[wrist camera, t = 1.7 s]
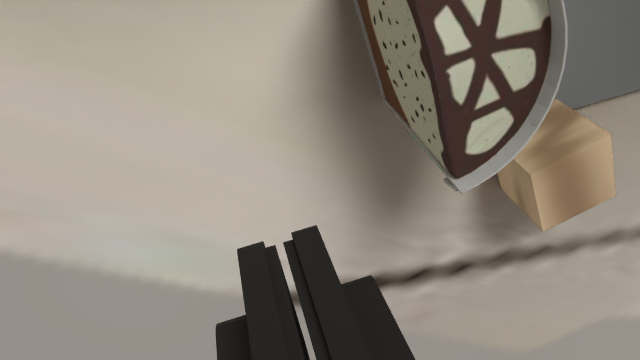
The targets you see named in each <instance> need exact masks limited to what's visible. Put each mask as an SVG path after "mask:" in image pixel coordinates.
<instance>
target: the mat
mask: <svg viewBox="0 0 640 360" xmlns="http://www.w3.org/2000/svg"><path fill="white" fill-rule="evenodd" d="M564 4H565V11H566V17H567V24H568V47H567V53H566V60H565V67H564V71H563V75H562V78H561V82H560V85H559V89H558V91H557V93H556V96H555V98H554V100H555V99H558V100H559V101H561V102H562V103H564V104H565V105H567V106H568V107H570V108H571V109H575V108H578V107H582V106H585V105H589V104H592V103H596V102H599V101H603V100H606V99H610V98H613V97H617V96H620V95H624V94H627V93H631V92H634V91H638V90H640V0H564Z"/></svg>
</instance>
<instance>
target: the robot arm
mask: <svg viewBox="0 0 640 360" xmlns="http://www.w3.org/2000/svg"><path fill="white" fill-rule="evenodd" d="M291 234H292V238H293V240H290V241H287V242H283V244H284V247H285V251H286V254H287V258H288V261H289V265H290V268H291V272H292V275H293V279H294V282H295V286H296V289H297V293H298V296H299V300H300V303H301V307H302V310H303V314H304V317H305V321H306V324H307V328H308V331H309V335H310V338H311V342H312V346H313V349H314V352H315V356H316V360H415V358H414V356H413V354H412V352H411V350H410V348H409V346H408V345H407V343H406V340H405V339H404V337H403V335H402V333H401V331H400V329H399V327H398V325H397V323H396V321H395V319H394V317H393V315H392V313H391V311H390V309H389V307H388V305H387V303H386V301H385V299H384V297H383V295H382V293H381V291H380V289H379V287H378V286H377V284H376V282H375V280H374V278H373V277H372V276H371V275H370V276H367V277H363V278H360V279H357V280H354V281H351V282H348V283H345V284H341V283H340V281H339V279H338V276H337V274H336V271H335V269H334V266H333V264H332V262H331V259H330V257H329V254H328V252H327V249H326V247H325V244H324V242H323V240H322V237H321V235H320V232H319V230H318V228H317V226H316V225H315V226H312V227H309V228H305V229H302V230H299V231H295V232H292V233H291ZM237 254H238V261H239V268H240V275H241V283H242V290H243V297H244V304H245V312H246V315H243V316H240V317H237V318H234V319H231V320H228V321H224V322H222V323H219V324H217V325H216V346H217V360H310V359H309V355H308V351H307V348H306V344H305V341H304V337H303V334H302V331H301V328H300V324H299V321H298V318H297V314H296V311H295V308H294V305H293V301H292V298H291V295H290V292H289V288H288V285H287V282H286V279H285V275H284V272H283V269H282V266H281V262H280V259H279V256H278V253H277V249H276V246H275V245H273V246H270V247H267V248H265V245H264V242H263V241H262V242H259V243H256V244H252V245H249V246H246V247H242V248H239V249H237Z"/></svg>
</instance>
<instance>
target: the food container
mask: <svg viewBox="0 0 640 360" xmlns="http://www.w3.org/2000/svg"><path fill="white" fill-rule="evenodd" d="M354 3H355V7H356V10H357V13H358V17H359V20H360V24H361V27H362V30H363V34H364V37H365V41H366V44H367V47H368V51H369V54H370V58H371V61H372V64H373V68H374V71H375V74H376V78H377V81H378V85H379V88H380V91H381V95H382V98H383V101H384V102H385V104H386V105H387V106H388V107H389V108H390V110H391V111H392V112H393V113H394V114H395V116H396V117H397V118H398V119H399V120H400V122H401V123H402V124H403V125H404V126H405V128H406V129H407V130H408V131H409V132H410V134H411V135H412V136H413V137H414V138H415V140H416V141H417V142H418V143H419V144H420V145H421V147H422V148H423V149H424V150H425V151H426V153H427V154H428V155H429V156H430V157H431V159H432V160H433V161H434V162H435V163H436V165H437V166H438V167H439V168H440V169H441V171H442V172H443V173H444V174H445V175H446V177H447V178H445V179H444V182H445V183H446V184H448V185H449V186H450V187H451V188H453V189H454V190H455V191H459V192H460V193H461V194H462V193H464V192H466V191H468V190H470V189H472V188H474V187H476V186H478V185H480V184H481V183H483V182H484V181H486V180H487V179H489V178H491V177H492V176H494V175H495V174H496V173H498V172H499V171H500V170H501V169H502V168H504V167H505V166H506V165H507V164H508V163H509V162H511V161H512V160H513V159H514V158H515V157H516V155H517V154H518V153H519V152H520V151H521V150H522V149H523V148H524V147H525V146H526V145H527V143H528V142H529V141H530V139H531V138H532V137H533V135H534V134H535V133H536V131H537V130H538V129H539V127H540V125H541V124H542V122H543V120H544V118H545V117H546V115H547V113H548V111H549V110H550V108H551V105H552V103H553V101H554V98H555V96H556V93H557V91H558V89H559V85H560V82H561V78H562V75H563V71H564V67H565V60H566V53H567V47H568V24H567V17H566V11H565V4H564V0H354Z"/></svg>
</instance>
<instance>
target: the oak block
mask: <svg viewBox="0 0 640 360" xmlns="http://www.w3.org/2000/svg"><path fill="white" fill-rule="evenodd" d="M497 176H498V179H499V183H500V187H501V189H502V190H503V191H504V192H505V193H506V194H507V195H508V196H509V197H510V198H511V199H512V200H513V201H514V202H515V203H516V204H517V205H518V207H519V208H520V209H521V210H522V211H523V212H524V213H525V214H526V215H527V216H528V217H529V218H530V219H531V220H532V221H533V222H534V223H535V224H536V225H537V226H538V227H539V228H540V229H541V230H542V231H543V232H544V231H546V230H548V229H550V228H552V227H554V226H556V225H558V224H560V223H562V222H564V221H566V220H568V219H570V218H572V217H574V216H576V215H578V214H580V213H582V212H584V211H586V210H588V209H590V208H592V207H594V206H596V205H598V204H600V203H602V202H604V201H606V200H608V199H610V198H612V197H614V196H616V190H615V177H614V165H613V152H612V140H611V134H610V133H609V132H607V131H606V130H604V129H602V128H601V127H599V126H598V125H596V124H595V123H593V122H592V121H590V120H589V119H587V118H585V117H584V116H582V115H581V114H579V113H578V112H576V111H575V110H573V109H571V108H570V107H568V106H567V105H565V104H564V103H562V102H561V101H559V100H558V99H555V100H554V101H553V103H552V105H551V108H550V110H549V111H548V113H547V115H546V117H545V118H544V120H543V122H542V124H541V125H540V127H539V129H538V130H537V131H536V133H535V134H534V135H533V137H532V138H531V139H530V141H529V142H528V143H527V145H526V146H525V147H524V148H523V149H522V150H521V151H520V152H519V153H518V154H517V155H516V157H515V158H514V159H513V160H512V161H511V162H509V163H508V164H507V165H506V166H505V167H504V168H502V169H501V170H500V171H499V172H498V173H497Z"/></svg>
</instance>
